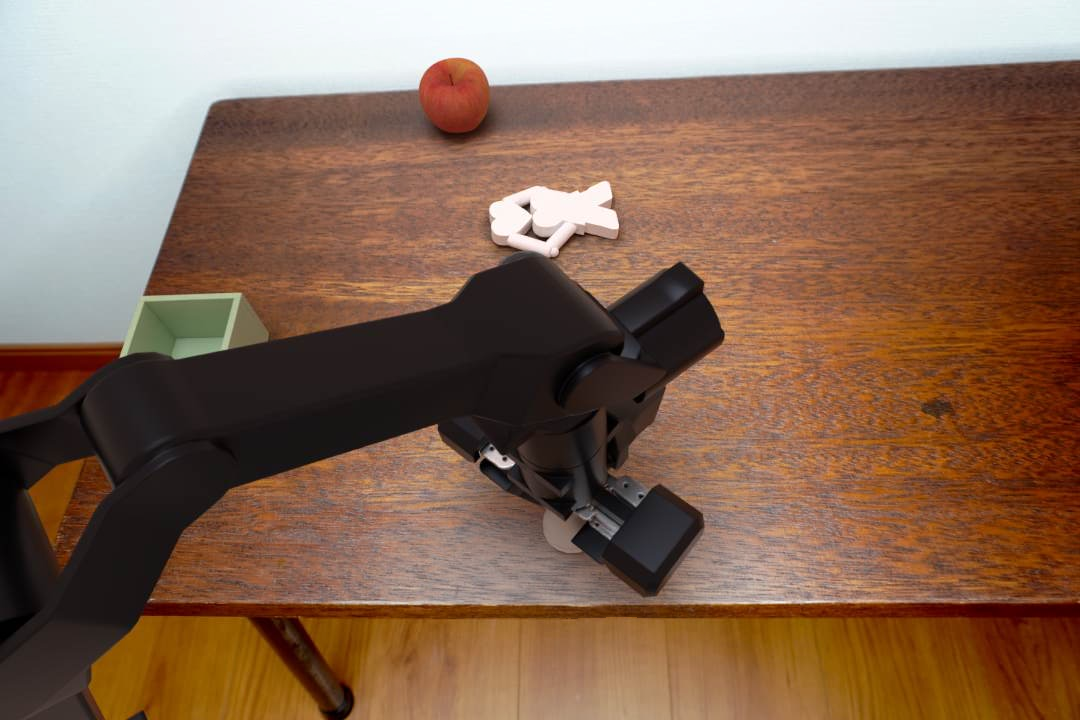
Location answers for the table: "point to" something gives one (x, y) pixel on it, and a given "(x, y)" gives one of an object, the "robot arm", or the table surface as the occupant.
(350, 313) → the table surface
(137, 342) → the bin
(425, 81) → the apple
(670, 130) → the table surface
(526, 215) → the white abstract figurine
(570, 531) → the rook chess piece
